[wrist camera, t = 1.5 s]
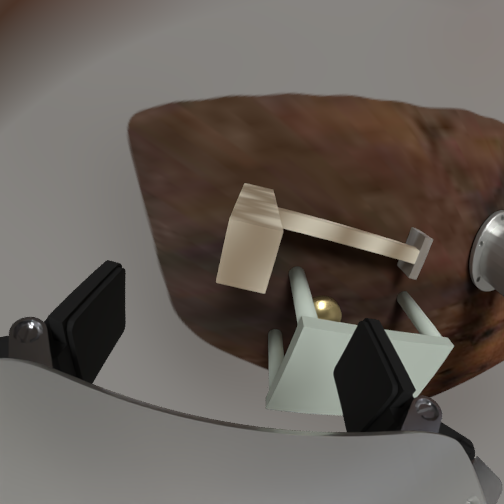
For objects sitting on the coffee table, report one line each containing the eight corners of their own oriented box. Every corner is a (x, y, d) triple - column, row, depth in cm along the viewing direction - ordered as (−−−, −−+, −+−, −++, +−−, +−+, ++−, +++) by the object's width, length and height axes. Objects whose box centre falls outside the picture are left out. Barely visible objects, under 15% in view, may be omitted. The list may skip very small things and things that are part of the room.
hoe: (419, 229, 29) (491, 284, 16) (404, 267, 31) (464, 334, 18) (245, 178, 28) (231, 210, 15) (235, 223, 30) (214, 289, 17)
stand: (411, 292, 32) (454, 346, 22) (376, 355, 36) (401, 414, 26) (290, 264, 31) (303, 326, 21) (265, 338, 35) (265, 409, 25)
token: (344, 298, 33) (347, 305, 32) (330, 330, 35) (332, 337, 34) (307, 290, 33) (309, 297, 31) (294, 323, 35) (295, 331, 33)
